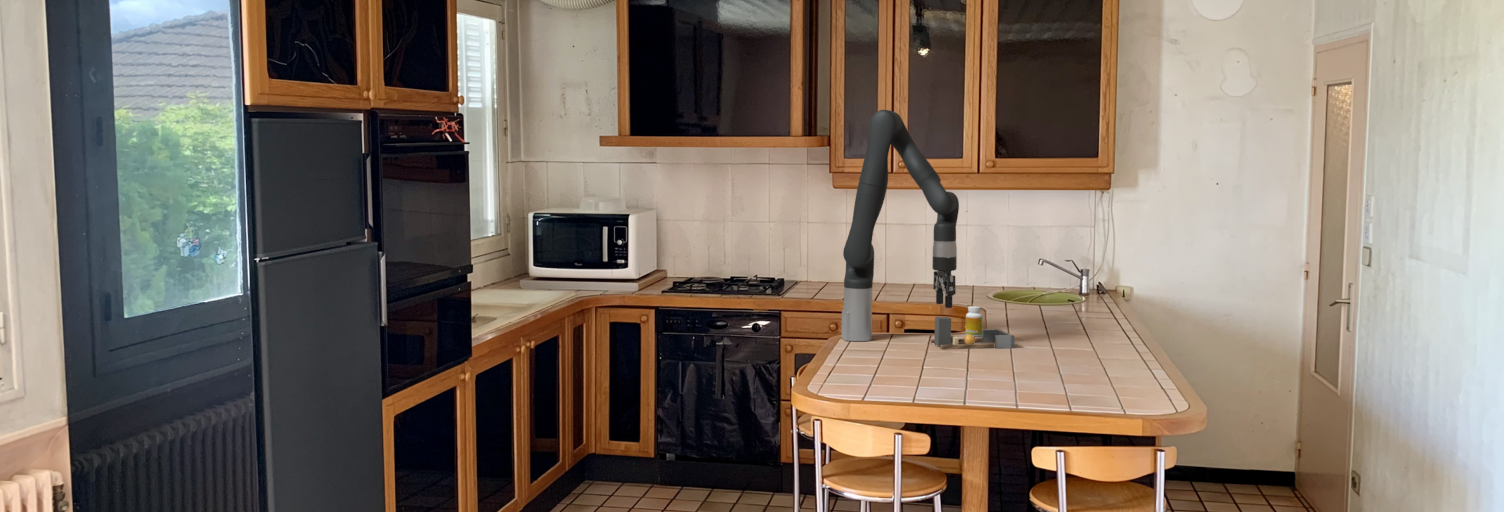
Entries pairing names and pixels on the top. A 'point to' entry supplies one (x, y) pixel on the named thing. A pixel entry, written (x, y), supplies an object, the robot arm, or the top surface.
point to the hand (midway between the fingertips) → (944, 305)
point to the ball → (969, 339)
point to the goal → (998, 338)
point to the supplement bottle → (974, 321)
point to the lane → (966, 345)
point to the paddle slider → (944, 332)
